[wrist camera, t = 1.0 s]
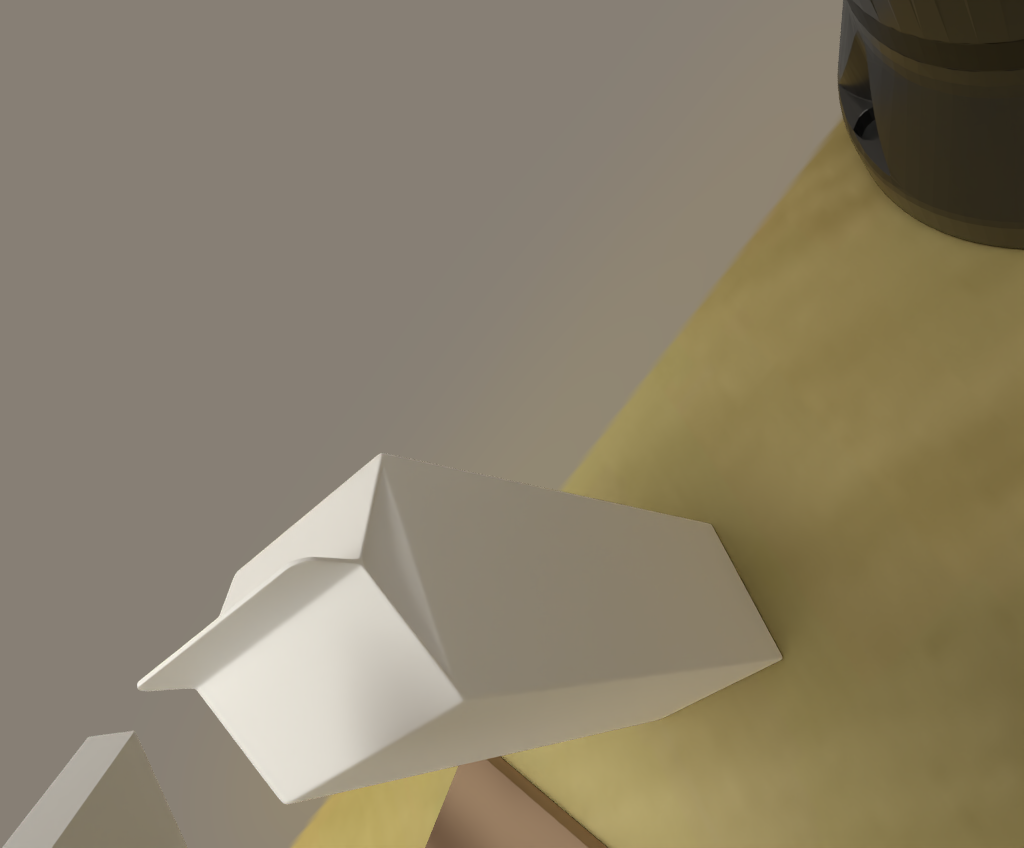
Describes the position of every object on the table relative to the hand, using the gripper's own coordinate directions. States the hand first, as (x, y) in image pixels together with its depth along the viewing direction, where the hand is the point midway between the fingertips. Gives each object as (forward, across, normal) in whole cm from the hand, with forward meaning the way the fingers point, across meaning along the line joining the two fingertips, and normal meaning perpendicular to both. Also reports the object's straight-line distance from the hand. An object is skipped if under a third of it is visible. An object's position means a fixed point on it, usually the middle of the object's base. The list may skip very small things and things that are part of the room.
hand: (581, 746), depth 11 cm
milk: (+19, +3, -12) cm, 23 cm away
